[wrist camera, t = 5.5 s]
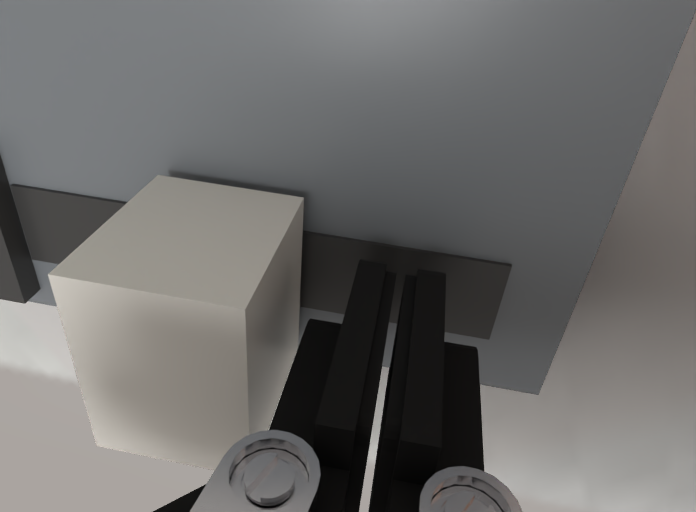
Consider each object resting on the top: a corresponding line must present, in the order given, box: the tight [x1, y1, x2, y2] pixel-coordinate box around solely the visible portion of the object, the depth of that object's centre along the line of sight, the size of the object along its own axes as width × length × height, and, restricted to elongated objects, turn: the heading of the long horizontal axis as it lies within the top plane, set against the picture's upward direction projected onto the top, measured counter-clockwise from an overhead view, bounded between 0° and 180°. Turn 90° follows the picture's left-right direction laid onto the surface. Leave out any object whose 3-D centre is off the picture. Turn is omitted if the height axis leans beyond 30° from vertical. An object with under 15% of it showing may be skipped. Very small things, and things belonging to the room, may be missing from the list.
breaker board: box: [0, 0, 696, 395], centre depth 10 cm, size 18×14×2 cm
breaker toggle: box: [48, 175, 304, 471], centre depth 10 cm, size 3×4×4 cm
